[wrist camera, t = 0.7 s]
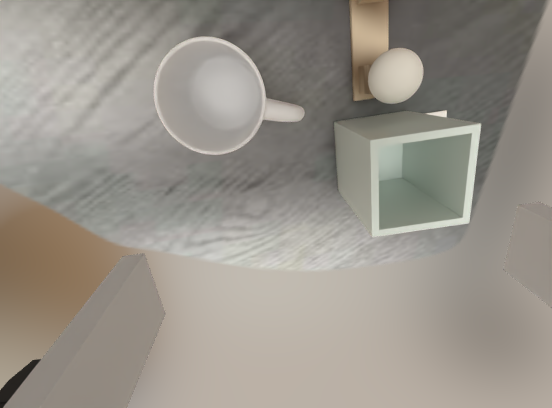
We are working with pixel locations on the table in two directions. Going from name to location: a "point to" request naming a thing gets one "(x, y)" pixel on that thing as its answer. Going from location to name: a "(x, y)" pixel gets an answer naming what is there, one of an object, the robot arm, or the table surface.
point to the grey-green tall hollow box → (407, 170)
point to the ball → (395, 75)
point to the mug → (214, 96)
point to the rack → (366, 41)
